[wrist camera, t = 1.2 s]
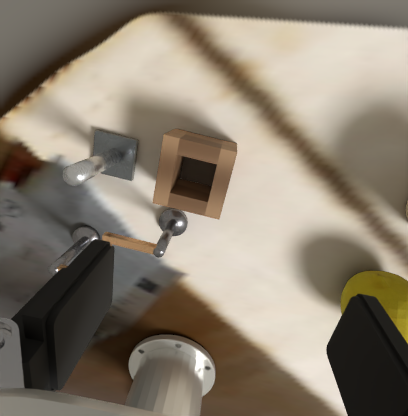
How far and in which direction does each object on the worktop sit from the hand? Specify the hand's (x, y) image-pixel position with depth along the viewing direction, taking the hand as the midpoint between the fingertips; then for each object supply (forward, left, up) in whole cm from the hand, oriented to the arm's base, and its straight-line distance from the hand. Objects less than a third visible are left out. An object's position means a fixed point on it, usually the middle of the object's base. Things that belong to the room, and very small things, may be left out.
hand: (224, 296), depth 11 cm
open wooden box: (0, +3, -20) cm, 20 cm away
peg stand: (-1, +12, -20) cm, 23 cm away
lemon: (-10, -19, -20) cm, 29 cm away
